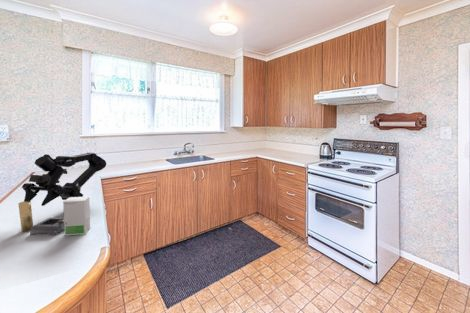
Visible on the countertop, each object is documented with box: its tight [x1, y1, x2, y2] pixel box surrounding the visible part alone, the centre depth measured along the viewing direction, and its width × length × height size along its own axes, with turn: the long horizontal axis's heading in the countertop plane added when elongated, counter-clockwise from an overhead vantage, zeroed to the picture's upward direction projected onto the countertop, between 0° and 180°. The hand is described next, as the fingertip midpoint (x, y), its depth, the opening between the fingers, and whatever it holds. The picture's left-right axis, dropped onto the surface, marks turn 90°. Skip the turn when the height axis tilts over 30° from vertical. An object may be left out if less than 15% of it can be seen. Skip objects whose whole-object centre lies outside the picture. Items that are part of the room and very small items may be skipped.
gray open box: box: [29, 217, 65, 236], centre depth 101 cm, size 12×9×5 cm
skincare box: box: [62, 196, 91, 237], centre depth 99 cm, size 8×7×16 cm
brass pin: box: [18, 200, 34, 233], centre depth 100 cm, size 4×4×13 cm
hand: (33, 205), depth 103 cm, fingers open, 9 cm apart
